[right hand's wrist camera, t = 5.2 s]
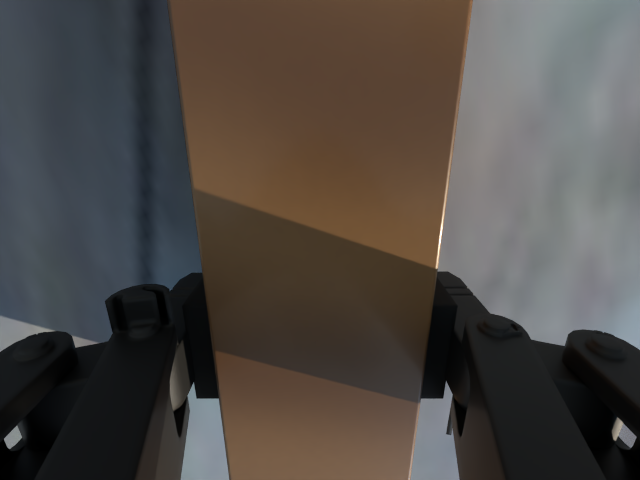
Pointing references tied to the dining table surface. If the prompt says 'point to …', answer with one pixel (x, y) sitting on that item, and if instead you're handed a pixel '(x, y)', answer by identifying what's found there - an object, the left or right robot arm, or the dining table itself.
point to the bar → (319, 219)
